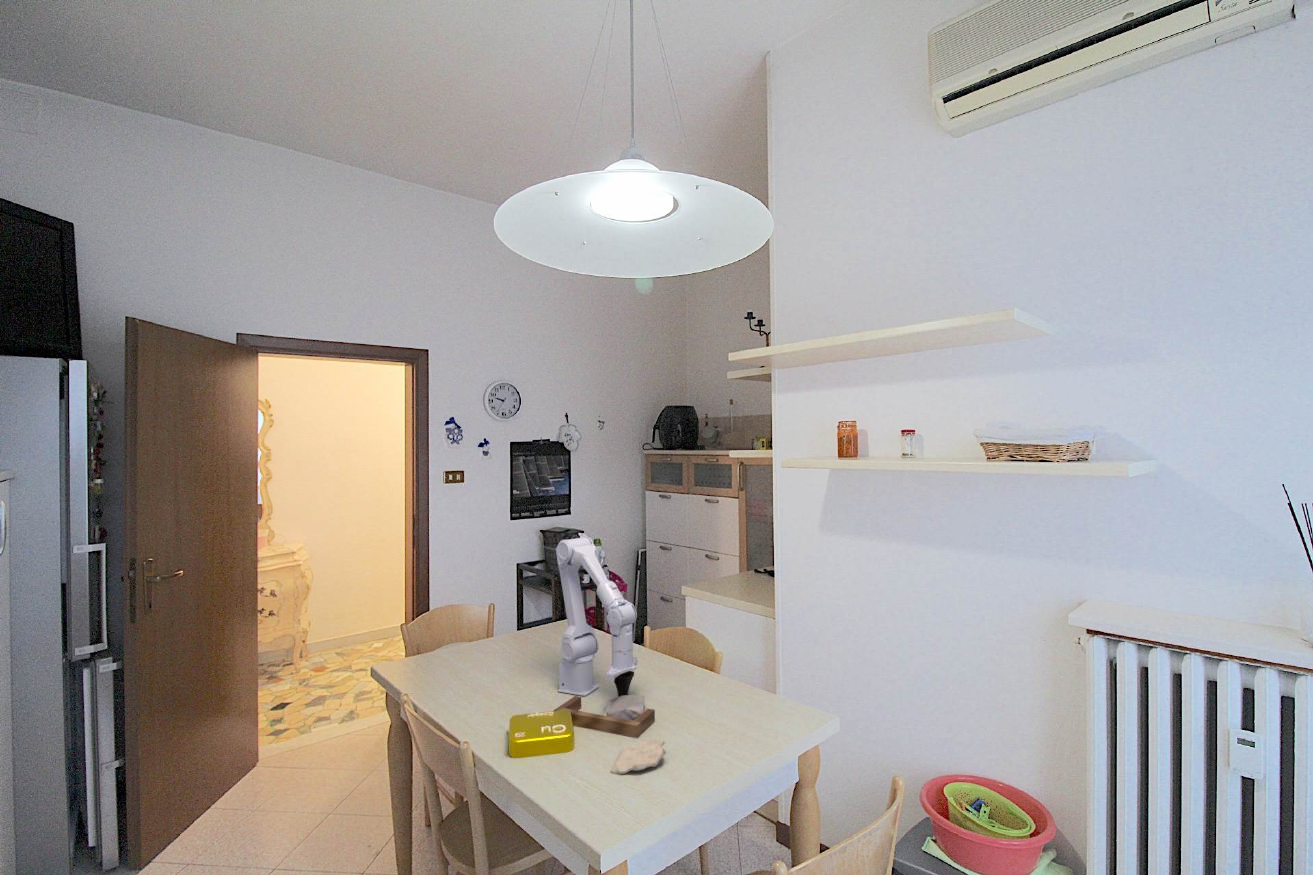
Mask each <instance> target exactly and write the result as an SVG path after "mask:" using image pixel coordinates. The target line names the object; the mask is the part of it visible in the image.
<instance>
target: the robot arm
mask: <svg viewBox="0 0 1313 875" xmlns="http://www.w3.org/2000/svg"><path fill="white" fill-rule="evenodd" d="M596 552H597V548H596V545H595V544H594V541H593V540H592V538H591V537H589V536H586V535H585V536H583V537H576V538H571V539H569V538H568V539H561V540H560V541H559V542H558V544H557V546H556V548H555V554H556V559H557V566H558V570H559V575H560V583H561V587H562V588H561V589H562V595H563V601H564V606H565V607H564V608H565V614H566V619H567V629H565V630H564V632H563V633H562V634H561V635H562V636H561V639H562V640H561V641H562V642H561V643H562V644H561V653H562V656H563V658H562V659H561V662H560V664H559V666H558V667H559V668H558V669H559V670H558V673H559V674H558V675H559V679H558V680H559V682H558V684H559V689H557V692H558V693H559V692H560V693H563V694H564V693H565V694H571V695H575V696H580V697H581V696H582V697H586V696H587V697H588V695H589V694H591V693H592V692H594V691H595V690H597V689H598V688H600V685H599V684H594V659H595V658H596V657H595V656H596V655H595V654H596V653H598V650H599V645H600V644H599V641H598V638H597V636H596V634H595V628H594V627H592V626H591V625H589V624H588V623H587V619H586V618H587V617H586V612H585V606H584V601H583V600H584V599H583V592H582V588H581V581H580V576H579V575H580V574H579V569H580V568H581V566H582V567H583V568H584V569H585V571H586V572H587V574H588V575H589V577H590V578H591V579H592V582H594V584H595V585H596V587H597V588H596V595H597V597H598V598H599V600H600V602H601V603H602V605H603V607H604V609H605V611H606V612H607V615H606V621H607V623H608V625H609V632H610V634H611V666H610V667H609V670H608V672H606V673H605V674H606V676H605V680H606V681H607V682H613V683H614V684H615V687H616V691H617V697H620V696H622V695H629V690H630V685H631V683H632V680H633V678H634V676H635V671H636V670H637V669H638V668H637V665H638V663H639V662H638V657H636V656H634V653H633V652H634V651H633V649H634V648H633V644H634V641H633V637H634V636H633V624H634V623H635V622H636V620H637V617H638V615H637V613H638V612H637V609H636V607H635V605H634V604H633V603H632V602H629V601H628V599H625V598H624V597H623V595H622V593H621V591H620V590H619V588H618V586H617V584H616V583H615V582H614V581H613V580H609V579H608V577H607V576H606V573H605V571H604V569H603V568H602V565H601V564H600V562H599V559H598V557H597V556H596V554H597V553H596Z"/></svg>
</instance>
